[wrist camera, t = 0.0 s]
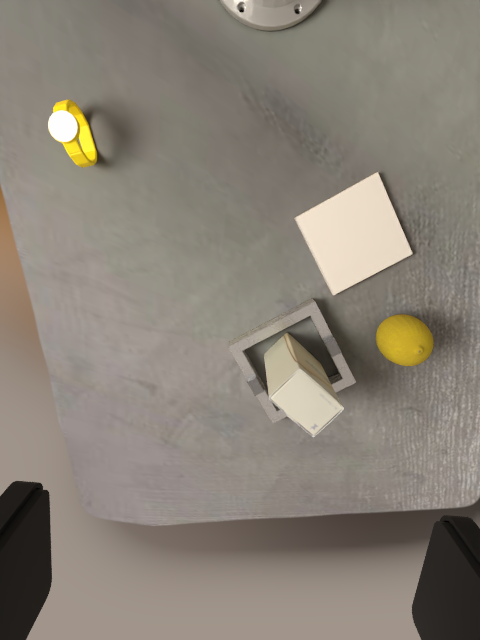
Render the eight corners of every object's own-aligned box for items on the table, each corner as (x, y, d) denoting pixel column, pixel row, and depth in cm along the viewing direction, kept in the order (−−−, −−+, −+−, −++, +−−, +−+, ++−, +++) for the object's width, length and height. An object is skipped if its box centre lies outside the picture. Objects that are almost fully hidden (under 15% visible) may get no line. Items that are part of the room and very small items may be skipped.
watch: (67, 116, 41) (37, 93, 35) (91, 109, 41) (66, 86, 35) (83, 173, 42) (57, 161, 36) (108, 167, 42) (85, 153, 36)
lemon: (358, 339, 47) (382, 362, 39) (382, 300, 46) (412, 316, 38) (396, 358, 48) (427, 385, 40) (421, 320, 46) (457, 339, 39)
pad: (294, 217, 43) (295, 217, 43) (375, 173, 42) (377, 172, 41) (331, 294, 46) (333, 295, 45) (409, 253, 44) (412, 253, 44)
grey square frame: (228, 341, 47) (228, 349, 44) (311, 298, 46) (316, 303, 43) (271, 415, 49) (273, 426, 47) (351, 376, 48) (358, 385, 45)
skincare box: (321, 363, 48) (348, 409, 36) (296, 387, 49) (314, 440, 37) (285, 330, 47) (301, 366, 35) (260, 355, 47) (267, 399, 36)
